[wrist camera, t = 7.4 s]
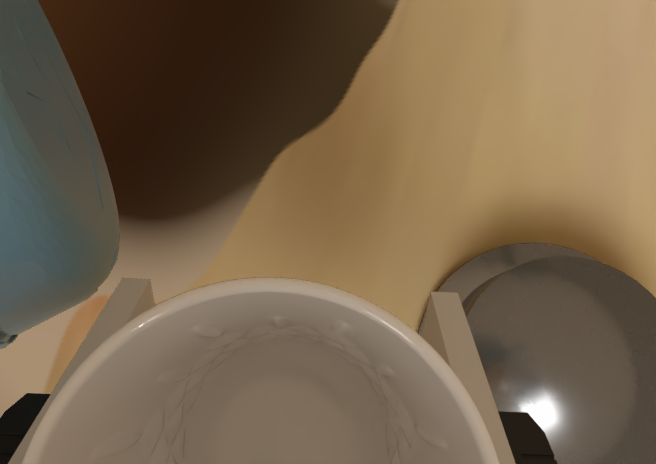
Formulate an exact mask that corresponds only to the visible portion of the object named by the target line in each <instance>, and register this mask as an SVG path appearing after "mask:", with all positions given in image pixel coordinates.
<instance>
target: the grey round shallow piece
mask: <svg viewBox="0 0 656 464" xmlns="http://www.w3.org/2000/svg"><path fill="white" fill-rule="evenodd" d="M437 292H453V293H458V295H459V298H460V301H461V304H462V307H463V310H464V313H465V316H466V319H467V322H468V325H469V327H470V330H471V333H472V336H473V339H474V342H475V345H476V348H477V351H478V354H479V357H480V360H481V363H482V366H483V369H484V372H485V375H486V378H487V381H488V384H489V386H490V389H491V392H492V395H493V398H494V401H495V404H496V407H497V410H498V411H504V412H528V414H529V415H530V416H531V417H532V418H533V419H534V421H535V422H536V423H537V424H538V425H539V426H540V428H541V429H542V430H543V431H544V432H545V434H546V437H547V439H548V442H549V444H550V446H551V449H552V451H553V453H554V459H555V460H556V461H557V463H558V464H656V298H655V297H654V296H653V295H652V294H651V293H650V292H649V291H648V290H647V289H645V288H644V287H643V286H642V285H641V284H639V283H638V282H637V281H635V280H634V279H632V278H631V277H629V276H628V275H626V274H625V273H623V272H621V271H619V270H617V269H615V268H613V267H611V266H608V265H606V264H603V263H601V262H600V261H598V260H596V259H594V258H592V257H590V256H588V255H586V254H584V253H581V252H578V251H576V250H573V249H570V248H566V247H562V246H557V245H553V244H543V243H520V244H514V245H507V246H503V247H500V248H497V249H493V250H490V251H488V252H486V253H484V254H481V255H479V256H477V257H475V258H474V259H472V260H471V261H469V262H467V263H466V264H464V265H463V266H461V267H460V268H459V269H458V270H456V271H455V272H454V273H453V274H452V275H451V276H449V277H448V278H447V280H446V281H445V282H444V283H443V284H442V285H441V286H440V288H439V289H438V290H437ZM426 312H427V309H426V311H425V313H424V315H423V318H422V321H421V324H420V327H419V330H418V334H419V335H420V336H421V337H422V332H423V327H424V322H425V317H426Z"/></svg>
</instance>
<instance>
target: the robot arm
mask: <svg viewBox="0 0 656 464" xmlns="http://www.w3.org/2000/svg"><path fill="white" fill-rule="evenodd" d="M119 241H120V234H119V220H118V212H117V206H116V201H115V196H114V192H113V188H112V184H111V180H110V176H109V173H108V169H107V166H106V162H105V160H104V156H103V153H102V150H101V147H100V144H99V141H98V138H97V135H96V133H95V130H94V127H93V124H92V121H91V119H90V116H89V114H88V111H87V108H86V106H85V104H84V101H83V99H82V96H81V93H80V91H79V89H78V86H77V84H76V81H75V79H74V76H73V74H72V72H71V69H70V67H69V65H68V63H67V60H66V58H65V56H64V54H63V52H62V50H61V47H60V45H59V43H58V41H57V39H56V37H55V34H54V32H53V30H52V28H51V26H50V24H49V22H48V20H47V18H46V16H45V14H44V12H43V10H42V8H41V6H40V4H39V2H38V0H0V349H2V348H5V347H6V346H7V345H9V344H10V343H12V342H13V341H14V340H15V339H16V337H17V336H18V334H20V333H22V332H24V331H26V330H28V329H30V328H32V327H34V326H36V325H38V324H40V323H42V322H44V321H45V320H48V319H50V318H51V317H53V316H56V315H57V314H59V313H61V312H63V311H65V310H67V309H69V308H71V307H73V306H75V305H77V304H79V303H81V302H83V301H85V300H86V299H88V298H89V297H91V296H92V295H93V294H94V293H95V292H96V291H97V289H98V287H99V286H100V285H101V284H102V283H103V282H104V281H105V280H106V278H107V277H108V276H109V274H110V272H111V270H112V268H113V266H114V264H115V263H116V261H117V256H118V251H119ZM154 306H155V303H154V298H153V293H152V287H151V282H150V279H133V278H132V279H131V278H122V280H121V281H120V283H119V284H118V286H117V288H116V289H115V291H114V293H113V294H112V296H111V297H110V299H109V301H108V302H107V304H106V305H105V307H104V309H103V310H102V312H101V314H100V315H99V317H98V318H97V320H96V322H95V323H94V325H93V327H92V328H91V330H90V331H89V333H88V335H87V336H86V338H85V340H84V341H83V343H82V344H81V346H80V348H79V349H78V351H77V352H76V354H75V356H74V357H73V359H72V361H71V362H70V364H69V365H68V367H67V369H66V370H65V372H64V374H63V375H62V377H61V378H60V380H59V382H58V383H57V385H56V386H55V388H54V390H53V391H52V393H51V394H32V393H27V394H26V395H24V396H23V397H22V398H21V399H20V400H18V401H17V402H16V403H15V404H14V405H12V406H11V407H10V408H9V409H8V410H6V411H5V412H4V414H3V415H2V417H1V418H0V464H21V463H22V460H23V457H24V455H25V452H26V450H27V448H28V445H29V443H30V441H31V439H32V437H33V435H34V432H35V431H36V429H37V427H38V425H39V423H40V421H41V419H42V417H43V416H44V414H45V412H46V411H47V409H48V407H49V406H50V404H51V403H52V401H53V399H54V398H55V396H56V395H57V394H58V392H59V391H60V389H61V388H62V387H63V385H64V384H65V383H66V381H67V380H68V379H69V378H70V376H71V375H72V374H73V373H74V371H75V370H76V369H77V368H78V367H79V366H80V365H81V363H82V362H83V361H84V360H85V359H86V358H87V357H88V356H89V355H90V354H91V353H92V352H93V351H94V350H95V349H96V348H97V347H98V346H99V345H100V344H101V343H103V342H104V341H105V340H106V339H107V338H108V337H110V336H111V335H112V334H113V333H114V332H116V331H117V330H118V329H120V328H121V327H122V326H124V325H125V324H126V323H128V322H129V321H131V320H132V319H134V318H135V317H137V316H138V315H140V314H142V313H143V312H145V311H147V310H148V309H150V308H152V307H154ZM422 338H423V339H424V340H426V341H427V342H428V343H429V344H430V345H431V346H432V347H433V348H434V349H435V350H436V351H437V353H438V354H439V355H440V356H441V357H442V358H443V359H444V360H445V361H446V363H447V364H448V365H449V366H450V368H451V369H452V370H453V371H454V373H455V374H456V375H457V377H458V378H459V380H460V381H461V382H462V384H463V385H464V387H465V388H466V390H467V392H468V393H469V395H470V396H471V398H472V400H473V402H474V403H475V405H476V407H477V409H478V411H479V413H480V415H481V417H482V419H483V421H484V423H485V425H486V427H487V430H488V432H489V434H490V437H491V439H492V442H493V445H494V447H495V450H496V453H497V456H498V460H499V463H500V464H558V463H557V461H556V460H555V459H554V453H553V451H552V449H551V446H550V444H549V442H548V439H547V437H546V434H545V432H544V431H543V430H542V429H541V428H540V426H539V425H538V424H537V423H536V422H535V421H534V419H533V418H532V417H531V416H530V415H529V414H528V412H504V411H498V410H497V407H496V404H495V401H494V398H493V395H492V392H491V389H490V386H489V384H488V381H487V378H486V375H485V372H484V369H483V366H482V363H481V360H480V357H479V354H478V351H477V348H476V345H475V342H474V339H473V336H472V333H471V330H470V327H469V325H468V322H467V319H466V316H465V313H464V310H463V307H462V304H461V301H460V298H459V295H458V293H453V292H430V297H429V302H428V307H427V312H426V317H425V322H424V327H423V332H422Z"/></svg>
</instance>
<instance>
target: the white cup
mask: <svg viewBox="0 0 656 464" xmlns="http://www.w3.org/2000/svg"><path fill="white" fill-rule="evenodd" d="M21 464H500V463H499V460H498V456H497V453H496V450H495V447H494V445H493V442H492V439H491V437H490V434H489V432H488V430H487V427H486V425H485V423H484V421H483V419H482V417H481V415H480V413H479V411H478V409H477V407H476V405H475V403H474V402H473V400H472V398H471V396H470V395H469V393H468V392H467V390H466V388H465V387H464V385H463V384H462V382H461V381H460V380H459V378H458V377H457V375H456V374H455V373H454V371H453V370H452V369H451V368H450V366H449V365H448V364H447V363H446V361H445V360H444V359H443V358H442V357H441V356H440V355H439V354H438V353H437V351H436V350H435V349H434V348H433V347H432V346H431V345H430V344H429V343H428V342H427V341H426V340H424V339H423V338H422V337H421V336H420V335H419V334H418V333H417V332H415V331H414V330H413V329H412V328H411V327H409V326H408V325H407V324H405V323H404V322H403V321H401V320H400V319H398V318H397V317H396V316H394V315H392V314H391V313H389V312H388V311H386V310H385V309H383V308H381V307H379V306H378V305H376V304H374V303H372V302H370V301H368V300H366V299H364V298H362V297H359V296H357V295H355V294H352V293H350V292H347V291H345V290H342V289H339V288H336V287H332V286H329V285H325V284H321V283H317V282H312V281H307V280H301V279H293V278H282V277H253V278H242V279H234V280H228V281H223V282H218V283H214V284H210V285H206V286H202V287H199V288H196V289H193V290H190V291H187V292H184V293H182V294H179V295H177V296H175V297H172V298H170V299H168V300H166V301H164V302H162V303H160V304H158V305H156V306H154V307H152V308H150V309H148V310H147V311H145V312H143V313H142V314H140V315H138V316H137V317H135V318H134V319H132V320H131V321H129V322H128V323H126V324H125V325H124V326H122V327H121V328H120V329H118V330H117V331H116V332H114V333H113V334H112V335H111V336H110V337H108V338H107V339H106V340H105V341H104V342H103V343H101V344H100V345H99V346H98V347H97V348H96V349H95V350H94V351H93V352H92V353H91V354H90V355H89V356H88V357H87V358H86V359H85V360H84V361H83V362H82V363H81V365H80V366H79V367H78V368H77V369H76V370H75V371H74V373H73V374H72V375H71V376H70V378H69V379H68V380H67V381H66V383H65V384H64V385H63V387H62V388H61V389H60V391H59V392H58V394H57V395H56V396H55V398H54V399H53V401H52V403H51V404H50V406H49V407H48V409H47V411H46V412H45V414H44V416H43V417H42V419H41V421H40V423H39V425H38V427H37V429H36V431H35V432H34V435H33V437H32V439H31V441H30V443H29V445H28V448H27V450H26V452H25V455H24V457H23V460H22V463H21Z"/></svg>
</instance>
